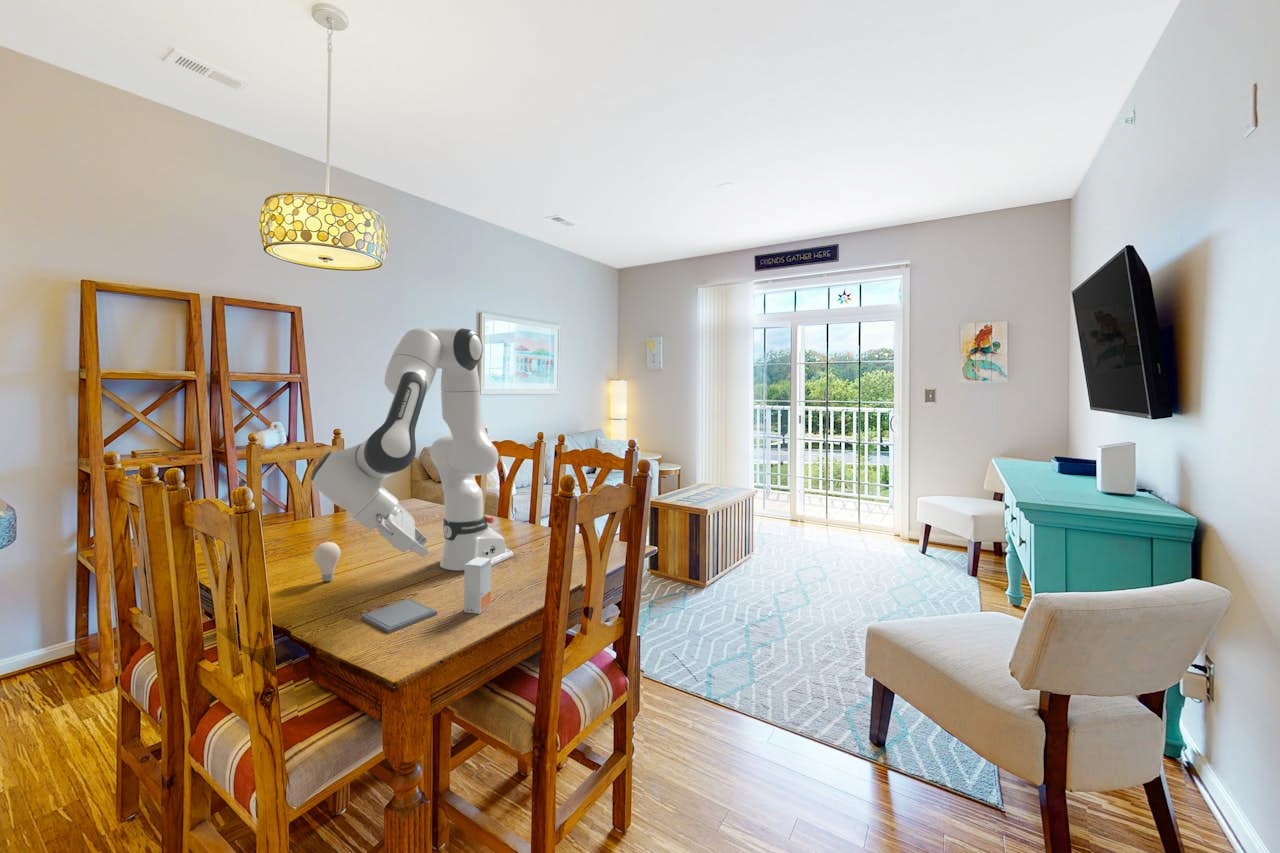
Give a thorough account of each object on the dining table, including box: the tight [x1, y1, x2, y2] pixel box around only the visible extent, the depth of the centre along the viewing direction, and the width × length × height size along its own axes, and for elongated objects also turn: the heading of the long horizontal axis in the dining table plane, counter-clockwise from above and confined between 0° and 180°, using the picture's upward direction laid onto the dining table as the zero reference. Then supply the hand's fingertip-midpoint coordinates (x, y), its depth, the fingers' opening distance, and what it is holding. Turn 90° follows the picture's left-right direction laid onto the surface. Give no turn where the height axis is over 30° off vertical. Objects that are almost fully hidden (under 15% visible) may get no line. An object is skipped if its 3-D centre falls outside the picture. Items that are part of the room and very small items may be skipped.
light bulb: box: [312, 541, 342, 582], centre depth 144 cm, size 7×7×11 cm
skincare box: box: [463, 557, 492, 615], centre depth 128 cm, size 6×4×12 cm
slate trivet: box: [360, 598, 438, 634], centre depth 124 cm, size 12×12×1 cm
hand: (425, 548), depth 123 cm, fingers open, 8 cm apart
